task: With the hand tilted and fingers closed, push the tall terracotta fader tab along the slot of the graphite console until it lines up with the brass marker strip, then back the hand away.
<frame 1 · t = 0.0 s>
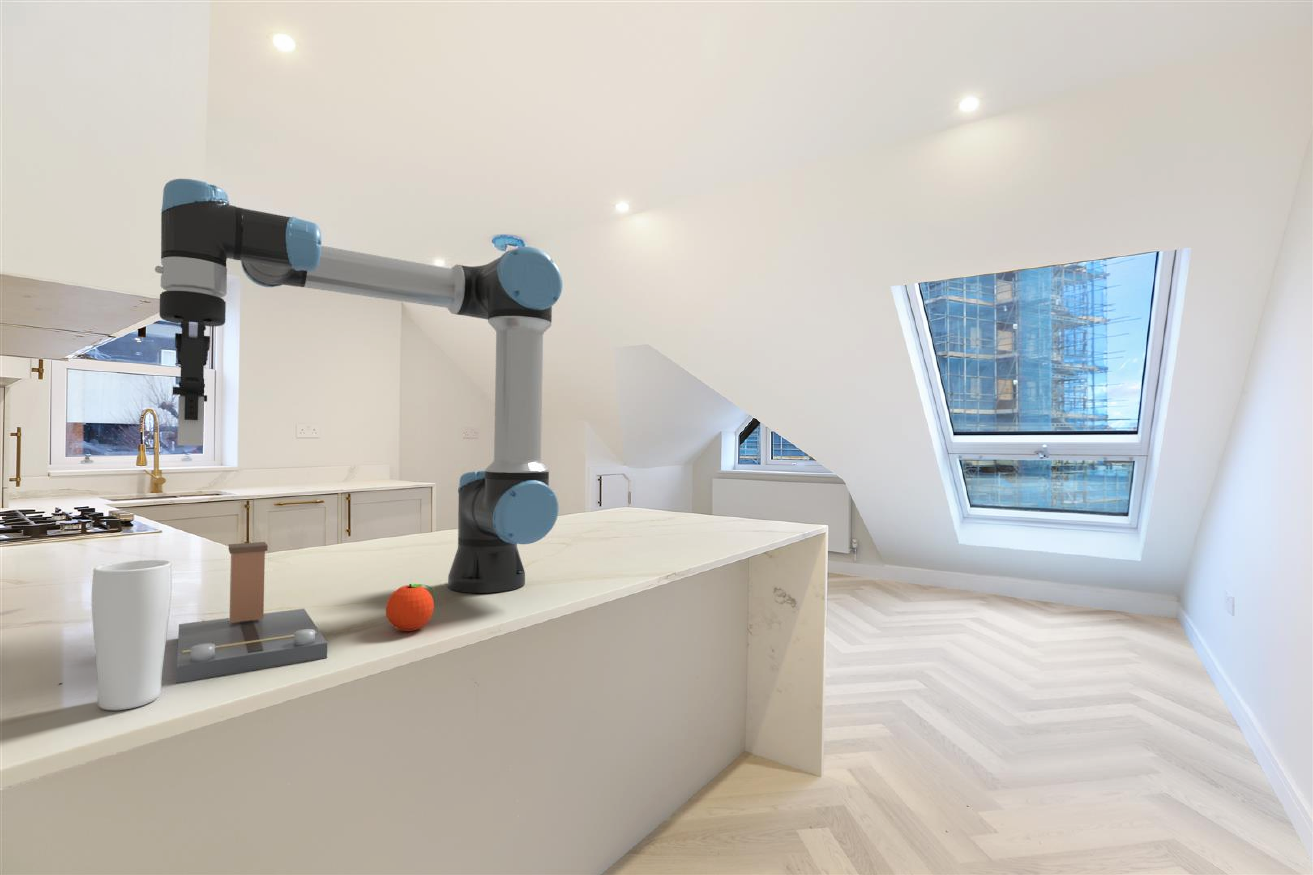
hand: (190, 445, 89), 28 cm above the table, tool pointing down, fingers open, 13 cm apart
console: (249, 647, 88), on the table
clementine: (412, 630, 98), on the table
white tumbler: (130, 704, 69), on the table
fader tab: (247, 581, 94), point 8 cm above the table, slide at -7.0 cm
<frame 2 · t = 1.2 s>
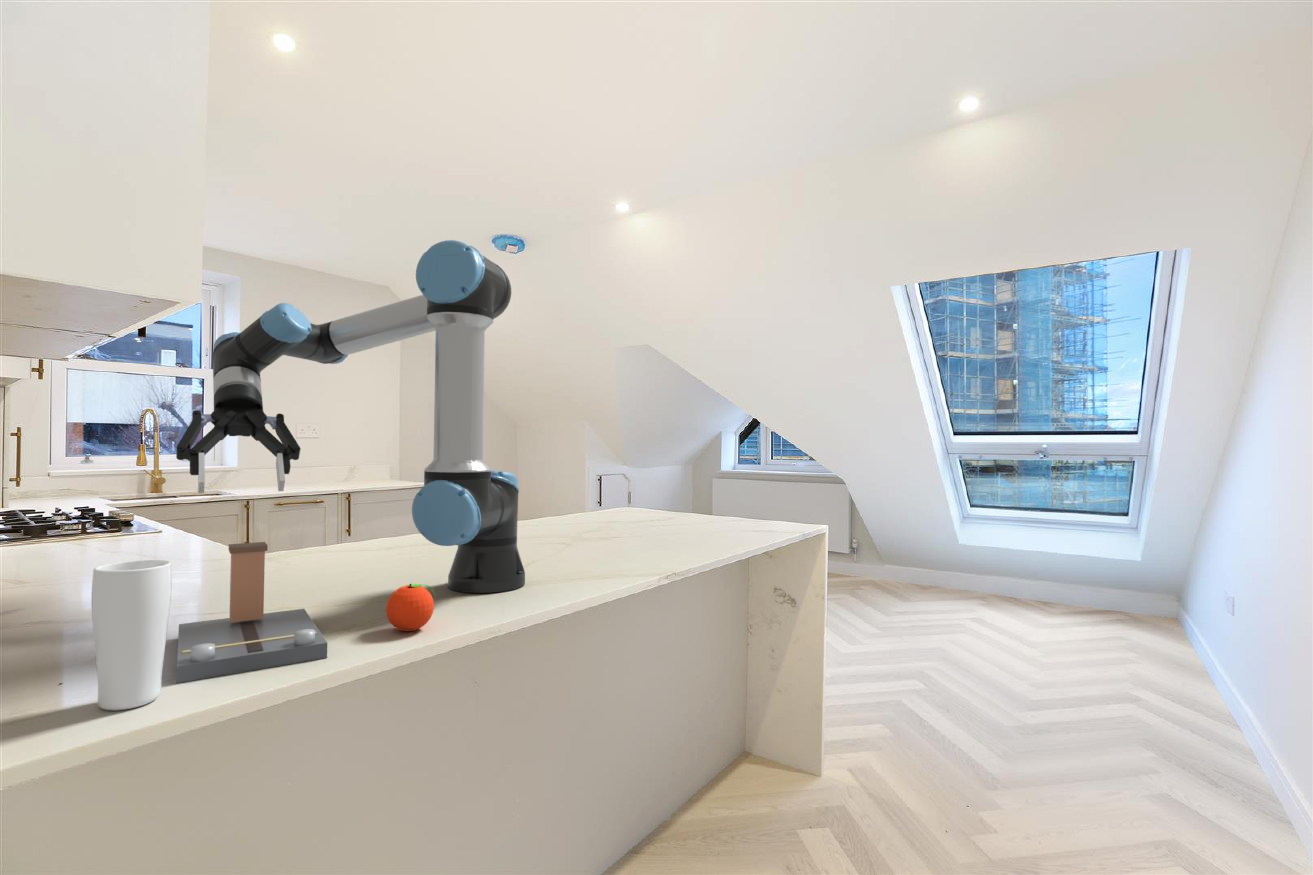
hand: (242, 486, 105), 21 cm above the table, tool tilted 45°, fingers open, 10 cm apart
nothing on the table moved.
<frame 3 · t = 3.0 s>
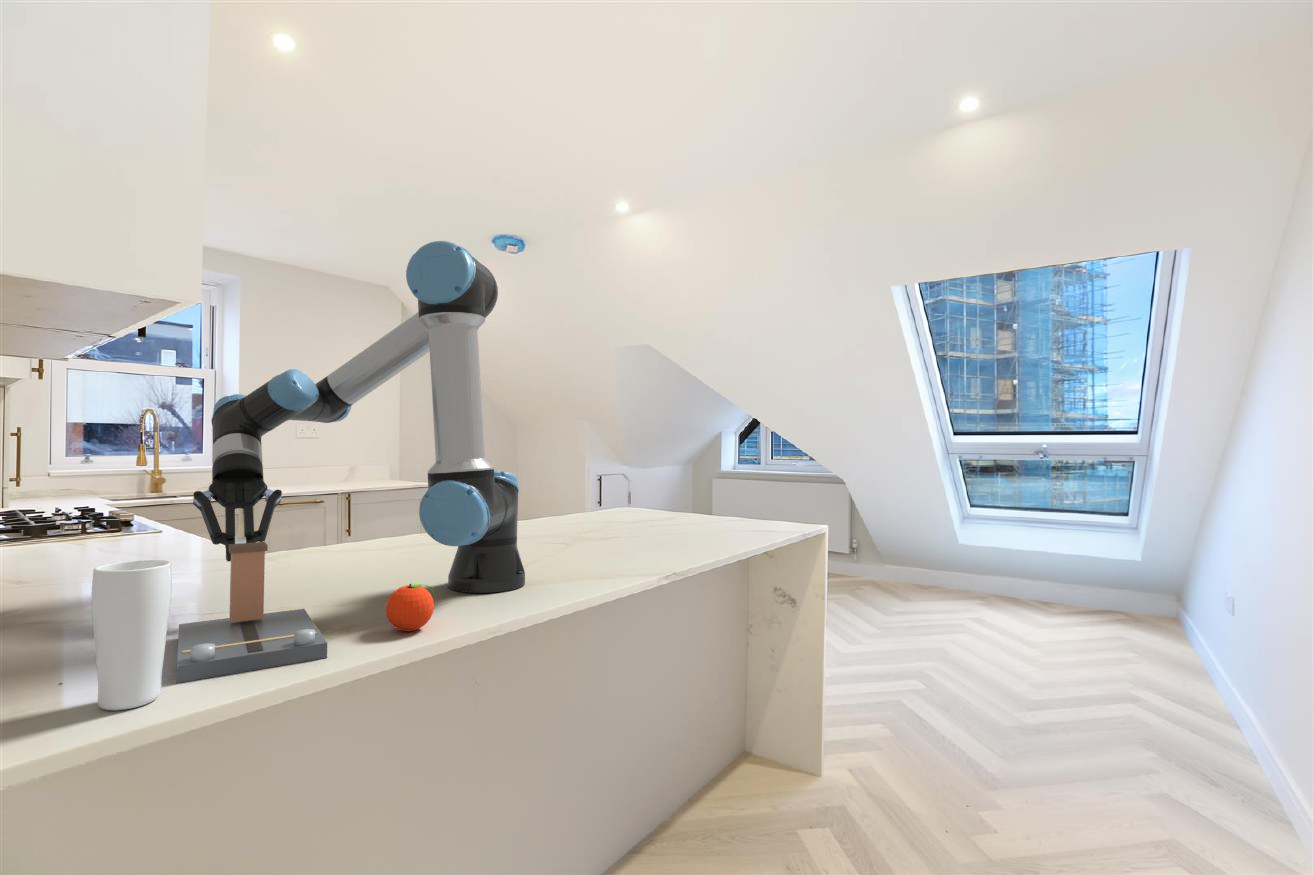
hand: (240, 575, 100), 8 cm above the table, tool tilted 45°, fingers closed
nothing on the table moved.
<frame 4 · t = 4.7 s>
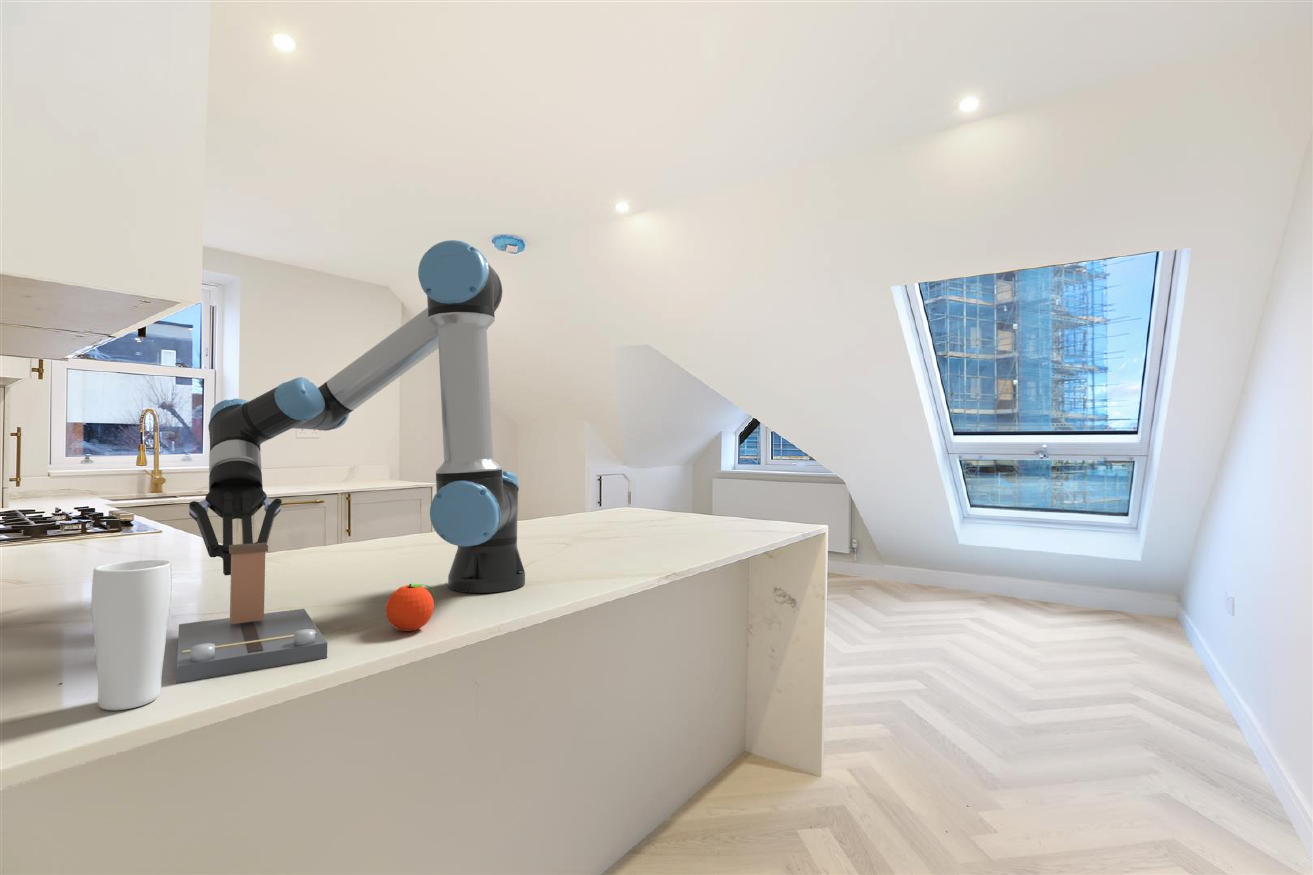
hand: (239, 590, 95), 6 cm above the table, tool tilted 45°, fingers closed
fader tab: (247, 582, 93), point 8 cm above the table, slide at -6.2 cm, touching gripper
everything else where it was.
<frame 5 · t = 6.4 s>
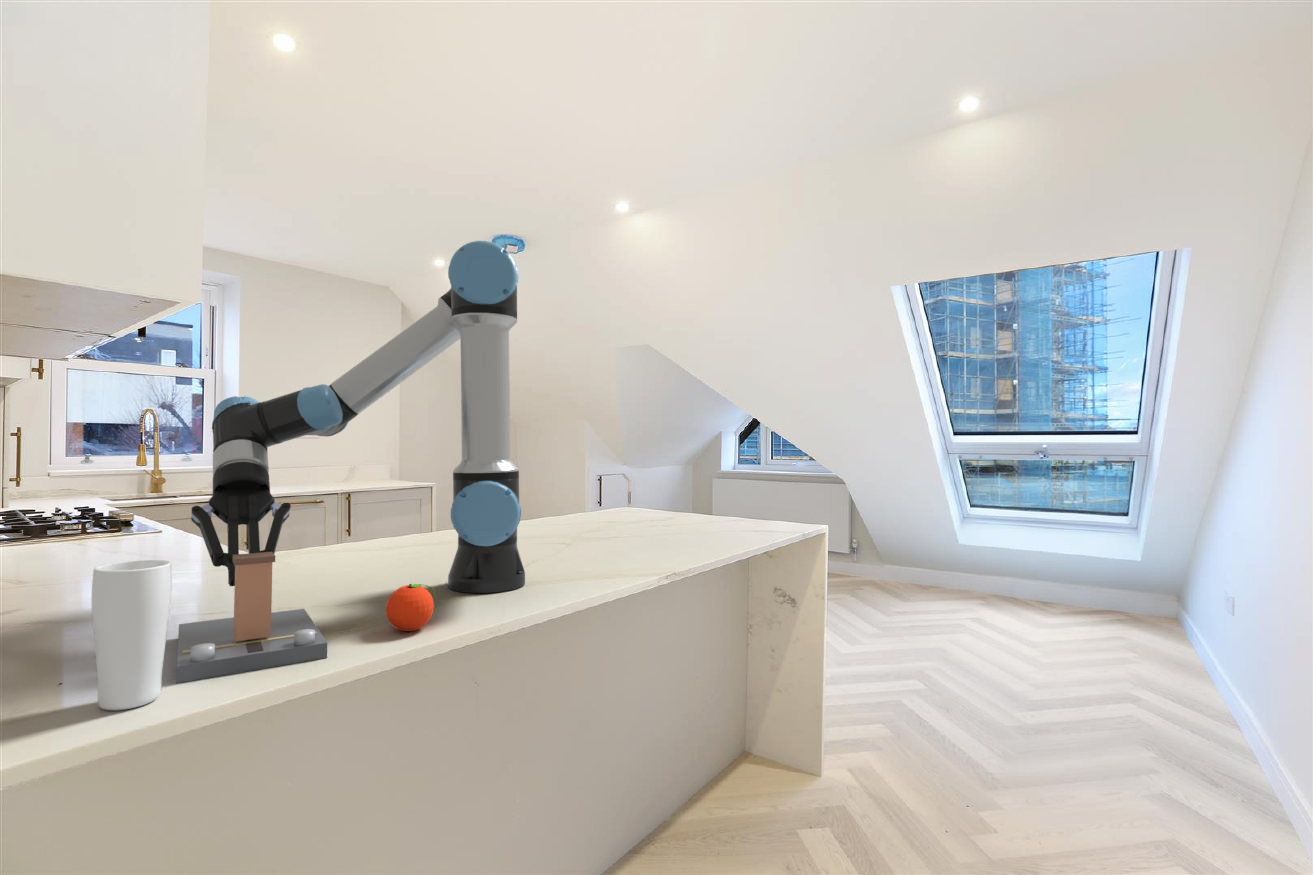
hand: (245, 602, 87), 6 cm above the table, tool tilted 45°, fingers closed
fader tab: (253, 595, 85), point 8 cm above the table, slide at 3.4 cm, touching gripper
everything else where it was.
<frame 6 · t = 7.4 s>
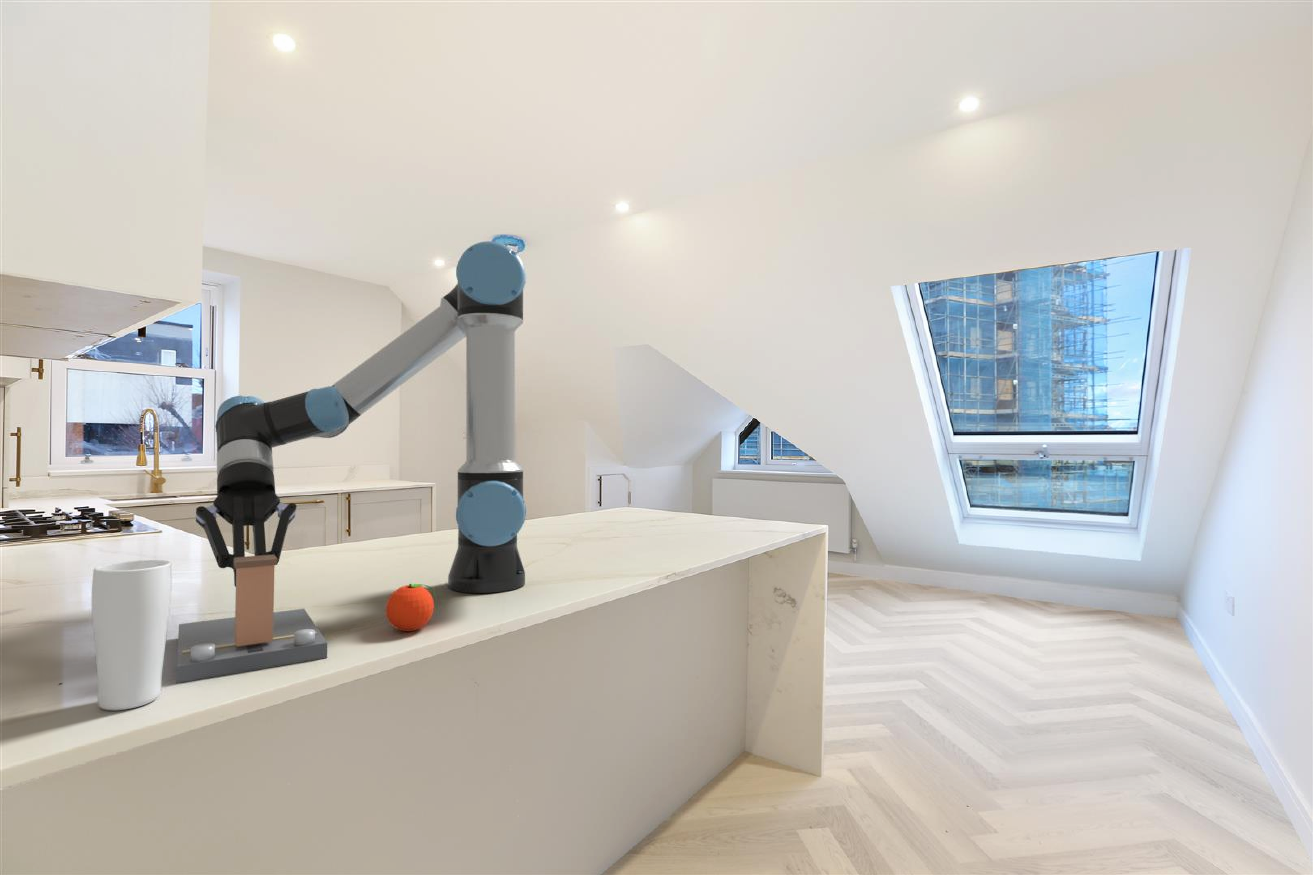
hand: (252, 604, 86), 7 cm above the table, tool tilted 45°, fingers closed
fader tab: (254, 599, 83), point 8 cm above the table, slide at 5.9 cm, touching gripper
everything else where it was.
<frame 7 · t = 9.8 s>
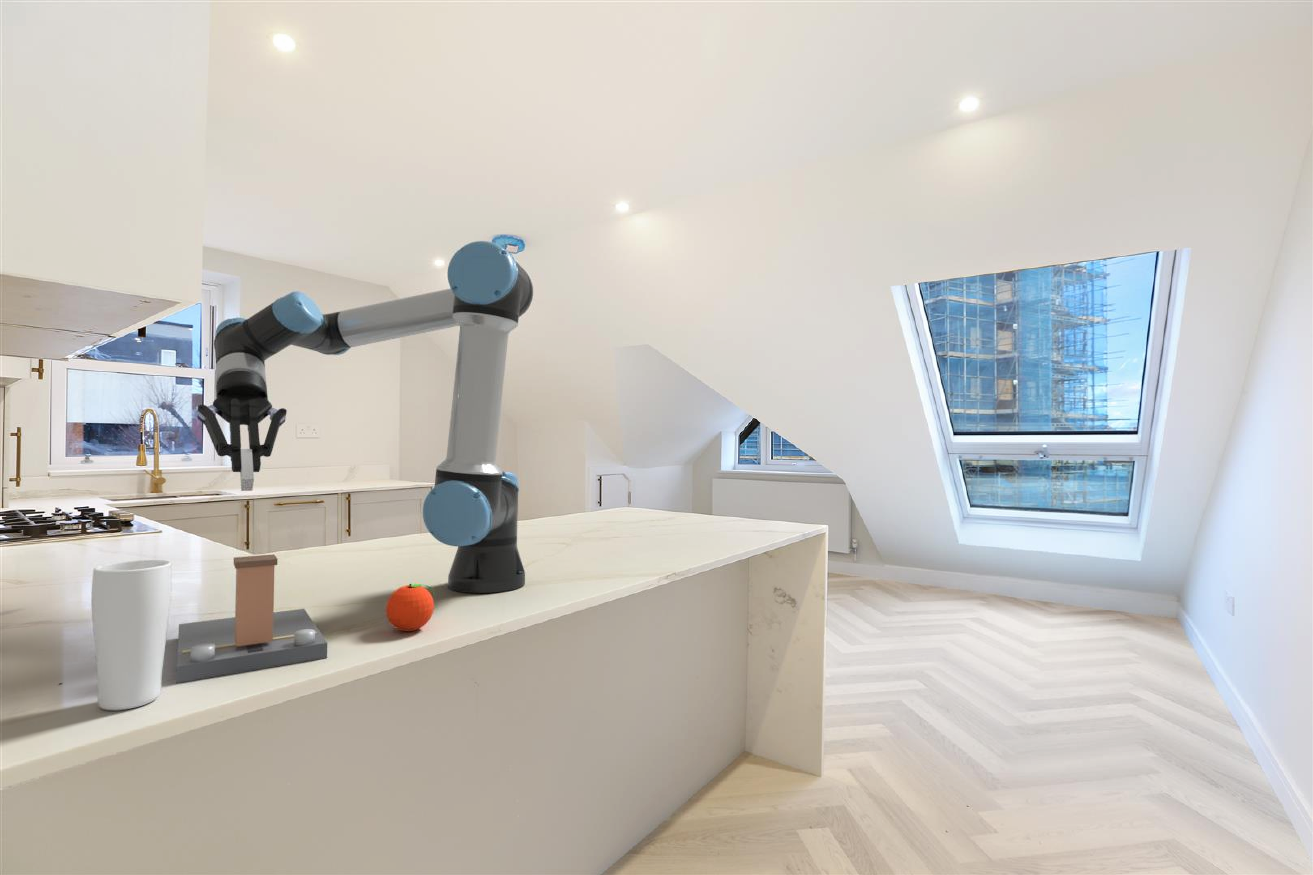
hand: (247, 484, 99), 22 cm above the table, tool tilted 45°, fingers closed
fader tab: (254, 599, 83), point 8 cm above the table, slide at 5.9 cm
everything else where it was.
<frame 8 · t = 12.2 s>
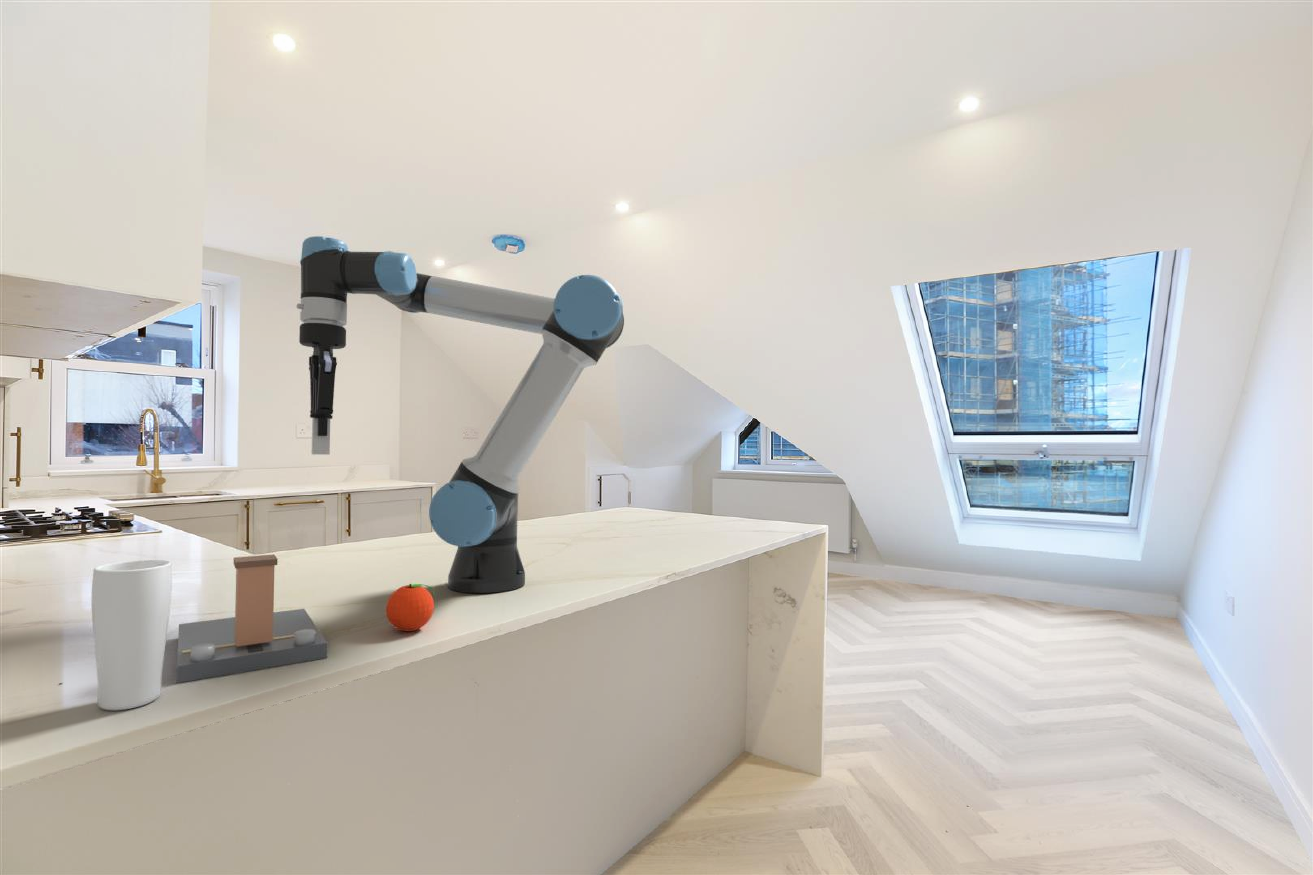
hand: (320, 454, 115), 26 cm above the table, tool pointing down, fingers closed
nothing on the table moved.
at the end: fader tab slide at 5.9 cm; the gripper is holding nothing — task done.
